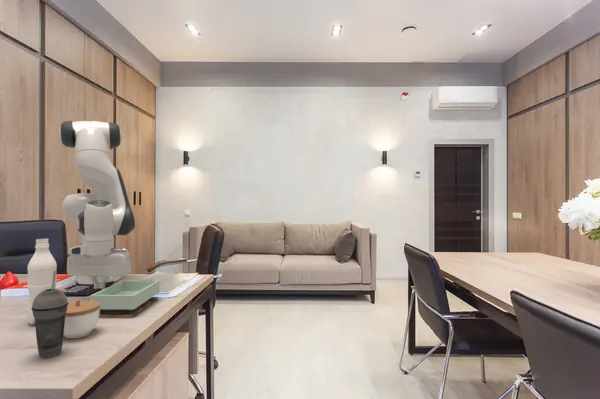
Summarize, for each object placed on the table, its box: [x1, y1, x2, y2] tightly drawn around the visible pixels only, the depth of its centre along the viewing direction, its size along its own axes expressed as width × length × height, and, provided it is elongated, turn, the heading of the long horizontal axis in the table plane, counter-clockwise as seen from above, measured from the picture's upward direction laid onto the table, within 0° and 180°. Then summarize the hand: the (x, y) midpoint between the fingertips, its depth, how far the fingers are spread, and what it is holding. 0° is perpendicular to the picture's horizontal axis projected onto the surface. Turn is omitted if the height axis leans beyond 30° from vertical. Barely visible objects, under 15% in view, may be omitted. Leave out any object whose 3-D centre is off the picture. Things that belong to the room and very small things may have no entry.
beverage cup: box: [31, 270, 69, 358], centre depth 85 cm, size 7×7×20 cm
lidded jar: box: [63, 299, 100, 340], centre depth 97 cm, size 11×11×9 cm
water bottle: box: [26, 238, 58, 326], centre depth 106 cm, size 7×7×25 cm
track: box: [99, 296, 159, 319], centre depth 120 cm, size 20×20×1 cm
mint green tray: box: [89, 279, 160, 311], centre depth 120 cm, size 20×14×6 cm
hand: (99, 288), depth 121 cm, fingers closed
